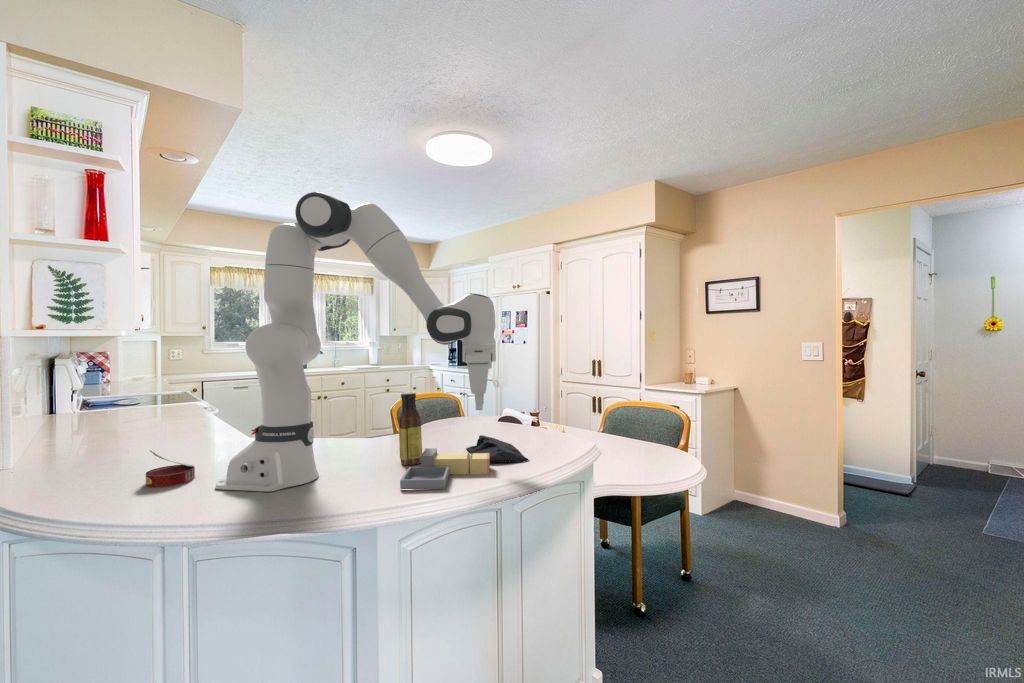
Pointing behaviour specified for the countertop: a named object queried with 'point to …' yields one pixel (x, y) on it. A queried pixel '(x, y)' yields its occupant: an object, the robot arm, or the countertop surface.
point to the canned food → (170, 475)
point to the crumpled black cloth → (497, 450)
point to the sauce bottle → (410, 431)
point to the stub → (479, 463)
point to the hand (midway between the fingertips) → (479, 407)
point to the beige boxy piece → (446, 461)
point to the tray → (425, 478)
